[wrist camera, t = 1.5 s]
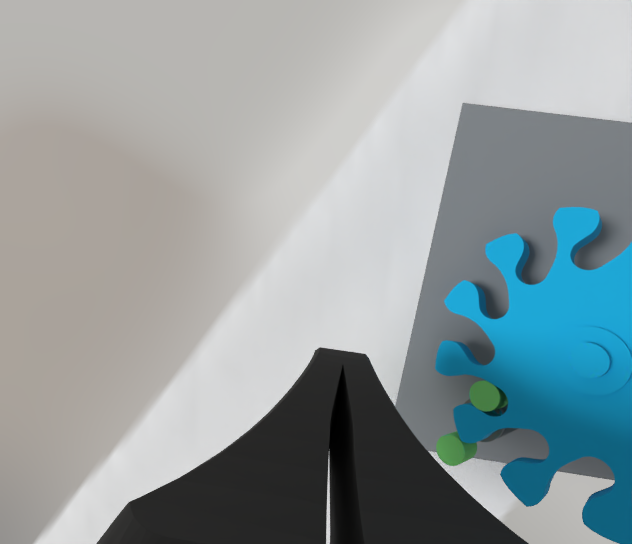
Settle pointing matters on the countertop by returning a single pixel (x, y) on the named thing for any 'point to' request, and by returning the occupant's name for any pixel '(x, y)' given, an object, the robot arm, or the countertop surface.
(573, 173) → the mat
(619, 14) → the countertop surface
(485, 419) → the gear
